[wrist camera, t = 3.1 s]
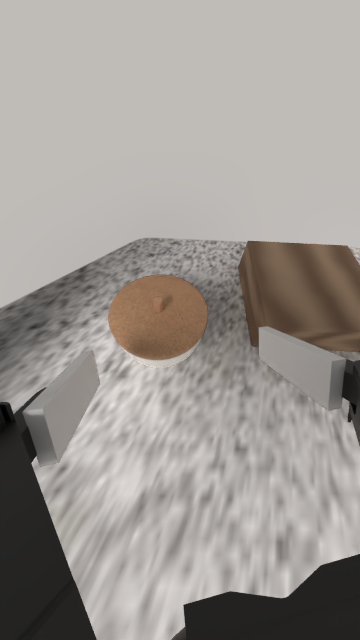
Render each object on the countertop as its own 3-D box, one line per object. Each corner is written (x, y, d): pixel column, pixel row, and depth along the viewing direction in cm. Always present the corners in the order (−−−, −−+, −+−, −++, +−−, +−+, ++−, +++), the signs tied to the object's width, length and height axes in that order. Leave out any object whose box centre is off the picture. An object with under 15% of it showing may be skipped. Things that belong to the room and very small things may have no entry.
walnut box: (250, 347, 27) (267, 326, 22) (237, 269, 36) (248, 240, 31) (362, 352, 27) (404, 333, 22) (322, 273, 36) (347, 245, 31)
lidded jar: (139, 304, 30) (127, 256, 22) (205, 317, 29) (217, 273, 21) (111, 368, 25) (82, 334, 17) (192, 388, 24) (201, 362, 16)
